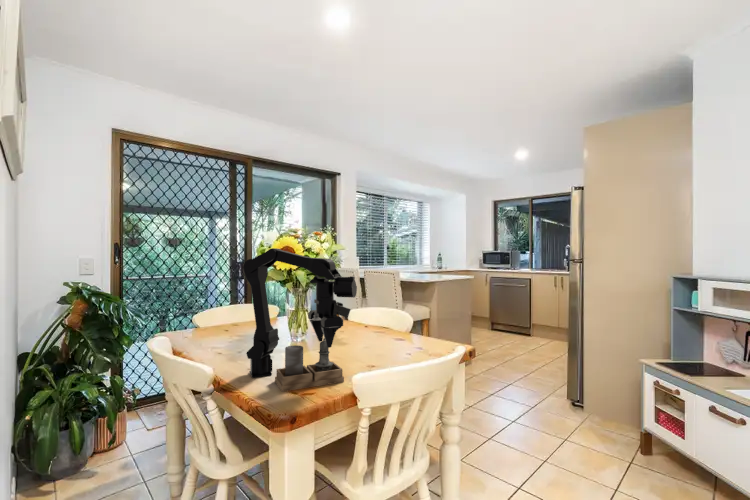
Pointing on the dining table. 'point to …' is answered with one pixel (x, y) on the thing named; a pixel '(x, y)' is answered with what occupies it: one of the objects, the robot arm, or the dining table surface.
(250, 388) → the dining table surface
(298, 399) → the dining table surface
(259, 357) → the robot arm
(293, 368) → the condiment rack
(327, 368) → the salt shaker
